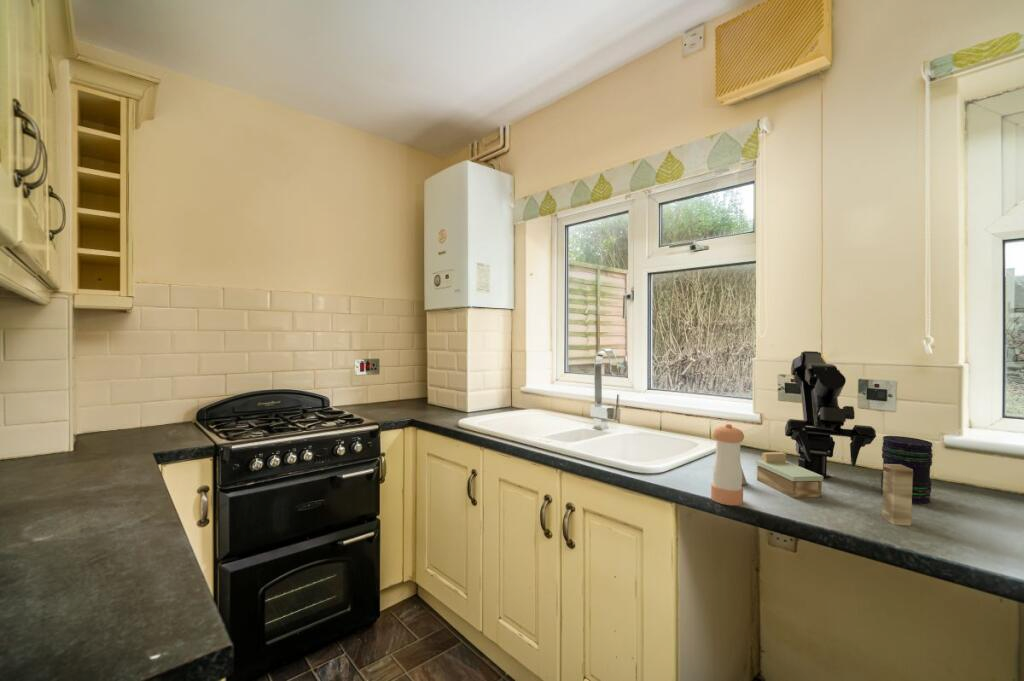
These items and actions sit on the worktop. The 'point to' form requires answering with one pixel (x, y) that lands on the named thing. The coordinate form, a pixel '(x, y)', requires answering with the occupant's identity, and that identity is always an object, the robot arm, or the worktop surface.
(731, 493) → the pepper shaker
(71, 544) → the worktop surface
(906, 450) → the storage jar
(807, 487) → the wooden box tray
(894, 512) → the brown box
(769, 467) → the lid
